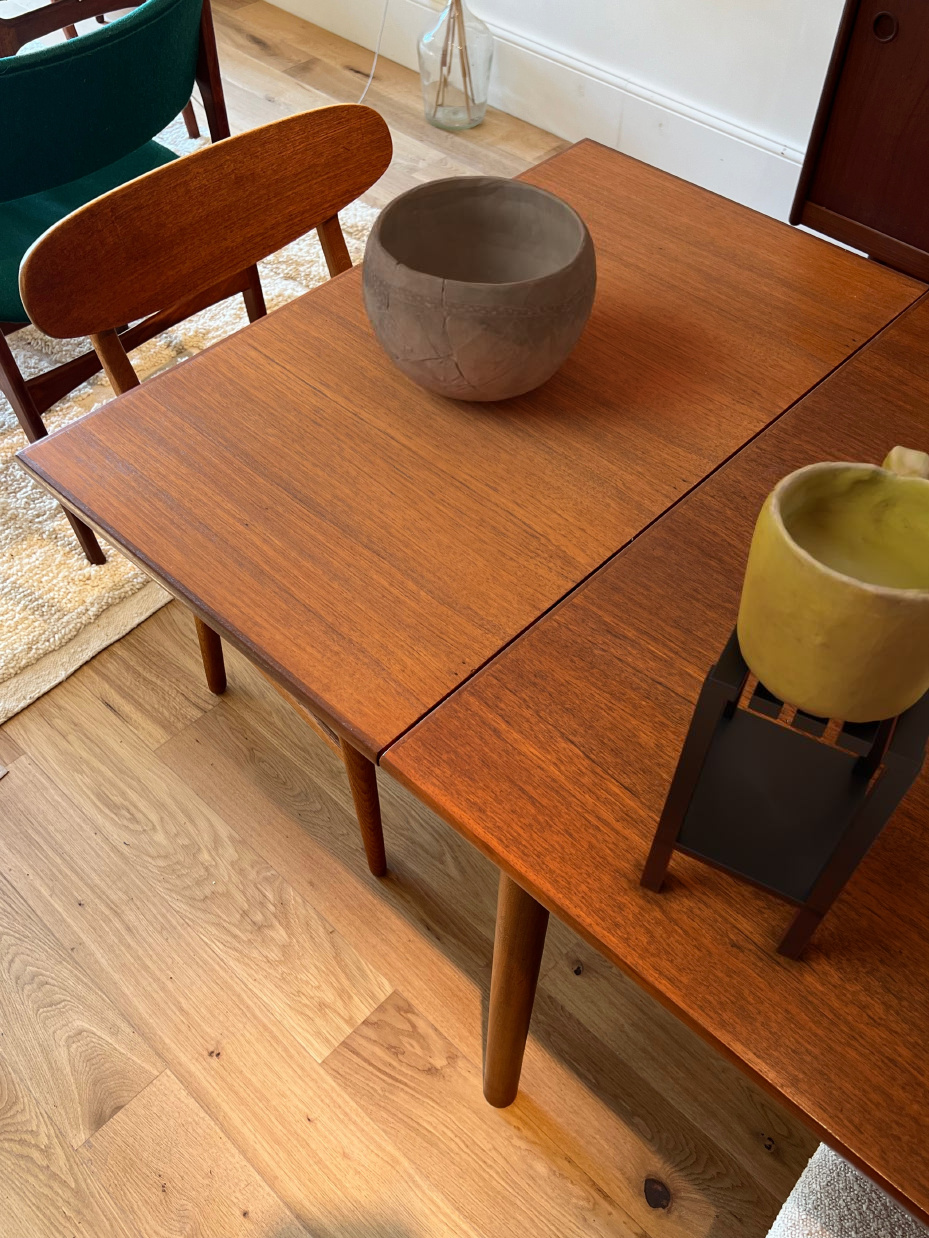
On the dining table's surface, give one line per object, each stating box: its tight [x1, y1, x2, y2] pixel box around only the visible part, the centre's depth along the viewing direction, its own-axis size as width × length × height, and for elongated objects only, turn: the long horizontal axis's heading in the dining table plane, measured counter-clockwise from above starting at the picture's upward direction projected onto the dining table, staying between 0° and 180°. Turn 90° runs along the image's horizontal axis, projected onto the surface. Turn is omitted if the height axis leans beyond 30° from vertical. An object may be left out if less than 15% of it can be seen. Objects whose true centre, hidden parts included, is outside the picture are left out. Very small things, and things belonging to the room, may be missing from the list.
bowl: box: [361, 175, 598, 402], centre depth 90 cm, size 21×21×15 cm
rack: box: [638, 622, 929, 962], centre depth 55 cm, size 10×11×21 cm
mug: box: [736, 445, 929, 723], centre depth 44 cm, size 12×10×10 cm
